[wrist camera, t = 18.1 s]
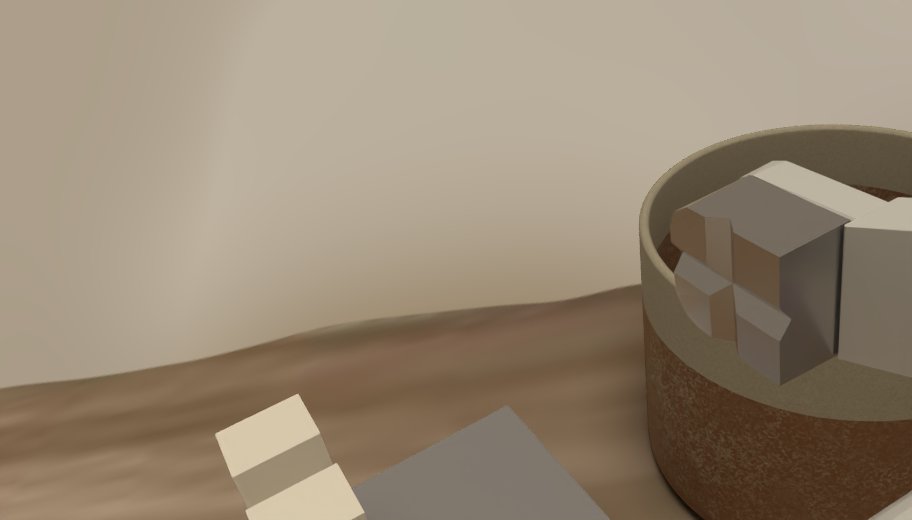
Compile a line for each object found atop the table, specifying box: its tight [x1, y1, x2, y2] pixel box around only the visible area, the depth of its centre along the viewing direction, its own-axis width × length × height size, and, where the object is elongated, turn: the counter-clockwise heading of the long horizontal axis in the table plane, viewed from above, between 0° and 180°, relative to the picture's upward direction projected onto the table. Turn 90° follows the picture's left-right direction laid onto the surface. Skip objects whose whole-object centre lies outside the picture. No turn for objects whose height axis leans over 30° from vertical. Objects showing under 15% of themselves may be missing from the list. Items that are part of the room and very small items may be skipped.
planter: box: [639, 125, 912, 520], centre depth 37 cm, size 16×16×14 cm
